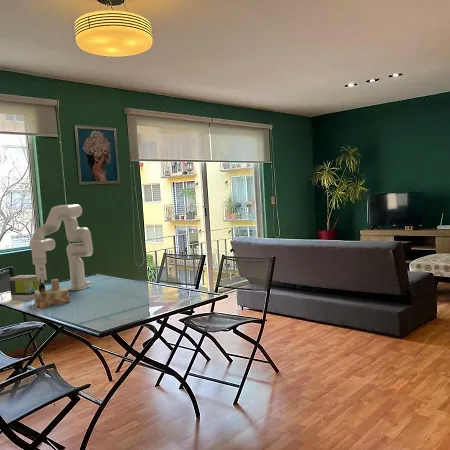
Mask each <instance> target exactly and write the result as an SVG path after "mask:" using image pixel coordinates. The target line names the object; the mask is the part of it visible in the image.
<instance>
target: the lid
mask: <svg viewBox="0 0 450 450" xmlns="http://www.w3.org/2000/svg"><path fill="white" fill-rule="evenodd" d="M50 283H51V288H50V287H49V288H45V292H46V293H47V294H53V293H60V292H66V291H68V292H69V288H67V287H66V286H60V281H59V279H58V278H52V279H51V280H50ZM35 294H36V296H39V294H41V293H40V292H39V290H36V291H35Z"/></svg>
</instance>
